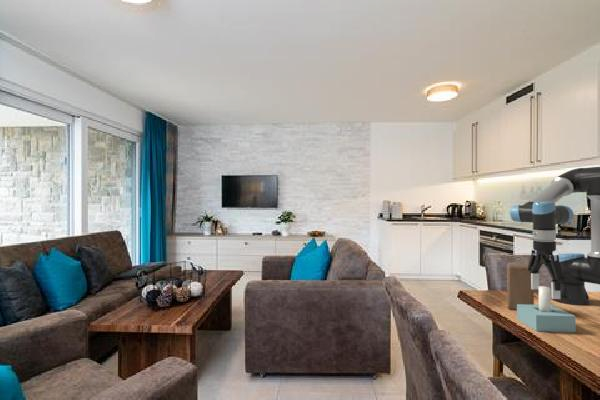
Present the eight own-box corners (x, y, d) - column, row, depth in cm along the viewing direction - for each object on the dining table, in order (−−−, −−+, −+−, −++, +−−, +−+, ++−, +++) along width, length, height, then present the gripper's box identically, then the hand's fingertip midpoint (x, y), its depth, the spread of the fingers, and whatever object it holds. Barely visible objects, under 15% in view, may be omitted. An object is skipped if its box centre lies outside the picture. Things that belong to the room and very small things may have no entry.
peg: (546, 320, 141) (546, 286, 141) (553, 324, 137) (553, 288, 137) (536, 320, 142) (536, 285, 142) (542, 324, 138) (542, 288, 138)
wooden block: (533, 312, 154) (533, 267, 154) (507, 309, 160) (507, 265, 160) (533, 306, 163) (532, 263, 163) (508, 303, 168) (507, 262, 168)
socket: (552, 319, 146) (552, 305, 146) (575, 332, 132) (575, 316, 132) (517, 318, 147) (516, 304, 147) (536, 331, 133) (536, 315, 133)
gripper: (517, 236, 152) (518, 285, 153) (554, 244, 127) (555, 303, 128) (536, 236, 152) (536, 285, 152) (576, 244, 127) (577, 303, 127)
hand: (545, 293), depth 140 cm, fingers open, 13 cm apart
